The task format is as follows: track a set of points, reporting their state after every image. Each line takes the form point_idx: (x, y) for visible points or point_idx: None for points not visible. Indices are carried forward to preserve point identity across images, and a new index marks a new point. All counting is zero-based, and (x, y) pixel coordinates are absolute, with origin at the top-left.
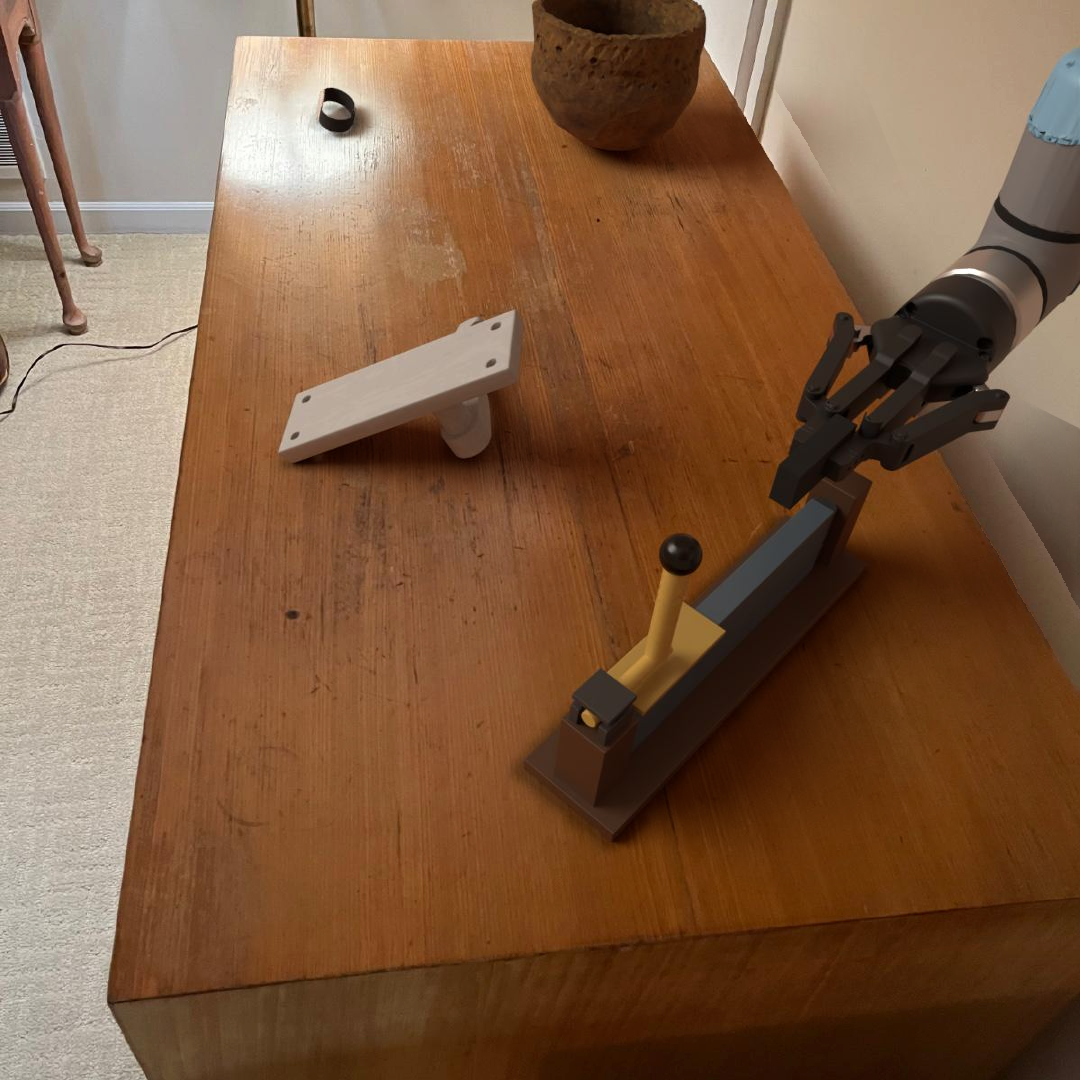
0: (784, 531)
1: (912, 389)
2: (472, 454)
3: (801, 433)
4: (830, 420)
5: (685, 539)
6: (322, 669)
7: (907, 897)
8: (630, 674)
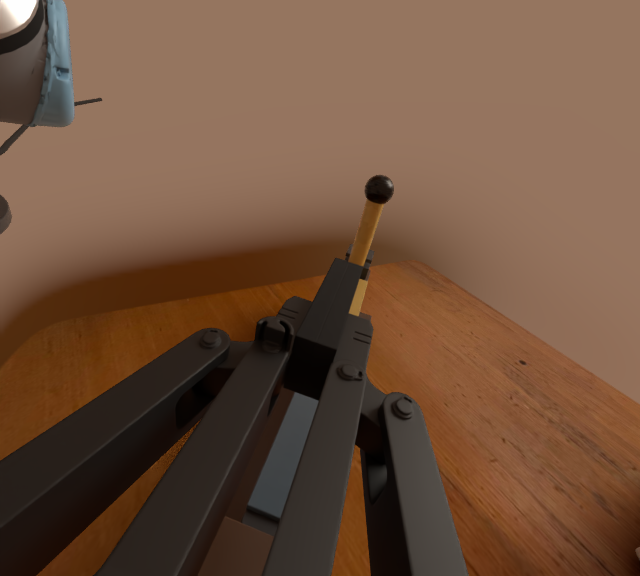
0: (304, 435)
1: (163, 514)
2: (637, 549)
3: (364, 328)
4: (339, 333)
5: (383, 175)
6: (480, 341)
7: (162, 306)
8: None
